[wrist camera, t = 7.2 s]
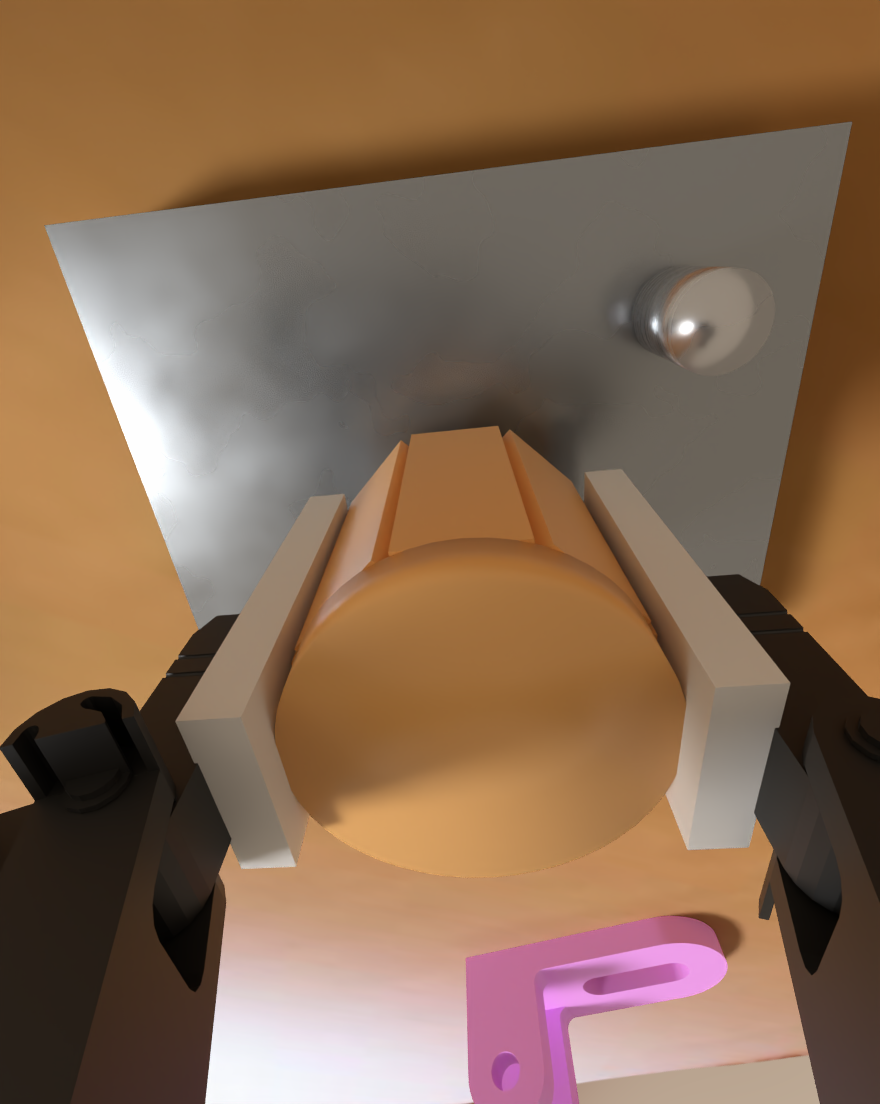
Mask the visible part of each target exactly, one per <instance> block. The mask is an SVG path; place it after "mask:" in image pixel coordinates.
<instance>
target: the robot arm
mask: <svg viewBox="0 0 880 1104" xmlns="http://www.w3.org/2000/svg"><path fill="white" fill-rule="evenodd" d="M584 504H585V506H586V507H587V509H588V511H589V513H590V514H591V516H592V518H593V520H594V521H595V523H596V525H597V527H598V528H599V530H600V532H601V534H602V535H603V537H604V539H605V541H606V542H607V544H608V546H609V548H610V549H611V551H612V553H613V555H614V556H615V558H616V560H617V562H618V563H619V565H620V567H621V569H622V570H623V572H624V574H625V576H626V577H627V579H628V581H629V583H630V584H631V586H632V588H633V590H634V591H635V593H636V595H637V597H638V598H639V600H640V602H641V604H642V605H643V607H644V609H645V611H646V612H647V614H648V616H649V617H650V619H651V624H652V626H653V628H654V629H655V631H656V633H657V635H658V636H657V642H658V644H659V645H660V647H661V649H662V651H663V653H664V654H665V656H666V658H667V660H668V662H669V663H670V665H671V667H672V669H673V671H674V672H675V674H676V676H677V678H678V680H679V682H680V685H681V688H682V691H683V694H684V697H685V700H686V711H685V718H684V725H683V732H682V739H681V747H680V754H679V761H678V768H677V774H676V777H675V779H674V780H673V782H672V784H671V785H670V787H669V788H668V790H667V792H666V793H665V794H666V796H667V799H668V801H669V804H670V806H671V809H672V811H673V814H674V817H675V819H676V822H677V824H678V827H679V829H680V832H681V834H682V837H683V839H684V842H685V845H686V847H687V850H698V849H722V848H746V847H749V844H750V841H751V837H752V833H753V829H754V825H755V821H756V817H757V819H758V821H759V823H760V825H761V827H762V829H763V830H764V832H765V834H766V836H767V838H768V840H769V842H770V843H771V845H772V847H773V849H774V850H773V853H772V857H771V860H770V864H769V867H768V871H767V874H766V877H765V881H764V884H763V888H762V891H761V895H760V898H759V918H761V919H766V920H769V918H770V915H771V911H772V908H773V905H774V904H775V908H776V912H777V917H778V921H779V926H780V930H781V934H782V939H783V943H784V948H785V952H786V956H787V961H788V965H789V969H790V974H791V978H792V983H793V987H794V991H795V996H796V1000H797V1005H798V1009H799V1013H800V1018H801V1022H802V1027H803V1031H804V1035H805V1040H806V1044H807V1049H808V1053H809V1057H810V1062H811V1066H812V1070H813V1075H814V1079H815V1084H816V1088H817V1093H818V1097H819V1101H820V1104H880V699H878V698H873V697H868V696H867V695H866V694H865V693H864V691H863V690H862V689H861V688H860V687H859V686H858V685H857V684H856V683H855V682H854V681H853V680H852V679H851V678H850V677H849V676H848V675H847V673H846V672H845V671H844V670H843V669H842V668H841V667H840V666H839V665H838V664H837V663H836V662H835V661H834V660H833V659H832V658H831V656H830V655H829V654H828V653H827V652H826V651H825V650H824V649H823V648H822V647H821V646H820V645H819V644H818V643H817V642H816V641H815V640H814V638H813V637H812V636H811V635H810V634H809V633H808V632H804V631H803V627H802V626H801V625H800V624H799V623H798V621H797V620H796V619H795V618H794V617H793V616H792V615H791V614H789V615H788V614H787V610H786V609H785V608H784V607H783V606H782V605H781V603H780V602H779V601H778V600H777V599H776V598H775V597H774V596H773V595H772V594H771V593H770V592H769V591H768V590H767V589H765V588H763V587H761V586H760V585H758V584H756V583H754V582H752V581H750V580H749V579H747V578H745V577H743V576H741V575H740V574H733V575H719V576H706V575H705V574H704V573H703V572H702V570H701V569H700V568H699V567H698V565H697V564H696V563H695V562H694V560H693V559H692V558H691V556H690V555H689V554H688V553H687V551H686V550H685V549H684V548H683V546H682V545H681V544H680V543H679V541H678V540H677V539H676V537H675V536H674V535H673V534H672V532H671V531H670V530H669V529H668V527H667V526H666V525H665V524H664V522H663V521H662V520H661V518H660V517H659V516H658V515H657V513H656V512H655V511H654V510H653V508H652V507H651V506H650V505H649V503H648V502H647V501H646V499H645V498H644V497H643V496H642V494H641V493H640V492H639V491H638V489H637V488H636V487H635V486H634V484H633V483H632V482H631V480H630V479H629V478H628V477H627V475H626V474H625V473H624V472H623V470H622V469H614V470H603V471H591V472H585V479H584ZM347 513H348V509H347V504H346V499H345V494H336V495H325V496H314V497H310V498H309V500H308V501H307V503H306V505H305V506H304V508H303V510H302V511H301V513H300V515H299V516H298V518H297V520H296V521H295V523H294V525H293V526H292V528H291V530H290V531H289V533H288V535H287V536H286V538H285V540H284V541H283V543H282V545H281V546H280V548H279V550H278V551H277V553H276V555H275V556H274V558H273V560H272V561H271V563H270V565H269V566H268V568H267V570H266V571H265V573H264V575H263V576H262V578H261V580H260V581H259V583H258V585H257V586H256V588H255V590H254V591H253V593H252V595H251V596H250V598H249V600H248V601H247V603H246V605H245V606H244V608H243V610H242V611H241V613H240V614H232V615H219V616H216V617H215V618H213V619H212V620H211V621H209V622H208V623H207V624H206V625H204V626H203V627H202V628H201V629H199V630H198V631H197V632H196V633H194V634H193V635H192V637H191V638H190V640H189V641H188V642H187V644H186V645H185V647H184V648H183V650H182V651H181V653H180V654H179V655H178V656H179V659H178V660H175V661H174V663H173V664H172V666H171V667H170V668H169V670H168V671H167V673H166V678H163V679H162V680H161V681H160V683H159V684H158V686H157V687H156V689H155V690H154V692H153V693H152V694H151V696H150V697H149V699H148V700H147V702H146V703H145V705H144V706H143V707H142V709H141V710H140V711H139V709H138V707H137V705H136V703H135V701H134V700H133V699H132V698H131V697H130V696H129V695H128V693H127V692H124V691H120V690H115V689H111V688H108V689H99V690H90V691H85V692H82V693H79V694H76V695H73V696H70V697H67V698H64V699H62V700H60V701H58V702H56V703H54V704H52V705H50V706H48V707H46V708H44V709H43V710H41V711H39V712H37V713H36V714H34V715H33V716H32V717H30V718H29V719H28V720H27V721H25V722H24V723H23V724H21V725H20V726H19V727H17V728H16V729H15V730H14V731H13V732H12V733H11V735H10V736H9V737H8V738H7V739H6V740H5V742H4V743H3V744H2V745H1V746H0V750H1V751H2V753H3V754H4V756H5V757H6V759H7V760H8V762H9V763H10V764H11V766H12V767H13V769H14V770H15V772H16V773H17V775H18V776H19V778H20V779H21V781H22V782H23V784H24V785H25V787H26V788H27V790H28V791H29V793H30V794H31V796H32V797H33V799H34V800H35V802H34V804H31V805H28V806H24V807H21V808H18V809H15V810H12V811H8V812H5V813H2V814H0V1104H205V1098H206V1089H207V1079H208V1070H209V1060H210V1051H211V1041H212V1032H213V1022H214V1013H215V1003H216V994H217V984H218V975H219V965H220V956H221V946H222V937H223V928H224V918H225V909H226V897H225V888H224V884H223V882H222V880H221V878H220V876H219V874H218V873H219V871H220V868H221V865H222V863H223V860H224V858H225V855H226V852H227V850H228V847H229V845H230V844H231V846H232V848H233V851H234V853H235V855H236V857H237V859H238V862H239V864H240V866H241V868H242V869H251V868H274V867H296V866H297V862H298V858H299V854H300V850H301V846H302V843H303V839H304V835H305V831H306V827H307V823H308V819H309V816H310V814H309V813H308V812H307V811H306V810H305V809H304V807H303V806H302V805H301V804H300V803H299V802H298V800H297V798H296V797H295V795H294V794H293V792H292V791H291V788H290V785H289V782H288V779H287V776H286V773H285V770H284V767H283V764H282V761H281V758H280V755H279V753H278V750H277V747H276V744H275V722H276V713H277V708H278V705H279V701H280V698H281V695H282V692H283V689H284V686H285V683H286V681H287V678H288V675H289V673H290V670H291V668H292V665H291V663H292V660H293V657H294V655H295V652H296V650H294V649H295V646H296V644H297V641H298V638H299V636H300V633H301V631H302V628H303V626H304V623H305V620H306V618H307V615H308V613H309V610H310V608H311V605H312V602H313V600H314V597H315V595H316V592H317V590H318V587H319V584H320V582H321V579H322V577H323V574H324V572H325V569H326V567H327V564H328V561H329V559H330V556H331V554H332V551H333V549H334V546H335V543H336V541H337V538H338V536H339V533H340V531H341V528H342V525H343V523H344V520H345V518H346V515H347Z"/></svg>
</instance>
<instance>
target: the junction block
mask: <svg viewBox="0 0 880 1104" xmlns="http://www.w3.org/2000/svg"><path fill="white" fill-rule="evenodd" d="M851 125H852V122H845V123H837V124H830V125H822V126H814V127H806V128H798V129H791V130H783V131H775V132H767V133H760V134H752V135H744V136H736V137H729V138H721V139H713V140H705V141H697V142H690V143H682V144H674V145H666V146H659V147H651V148H643V149H635V150H627V151H620V152H612V153H604V154H596V155H589V156H581V157H573V158H565V159H557V160H550V161H542V162H534V163H526V164H519V165H511V166H503V167H495V168H488V169H480V170H472V171H464V172H456V173H449V174H441V175H433V176H425V177H418V178H410V179H402V180H394V181H386V182H379V183H371V184H363V185H355V186H348V187H340V188H332V189H324V190H316V191H309V192H301V193H293V194H285V195H278V196H270V197H262V198H254V199H247V200H239V201H231V202H223V203H215V204H208V205H200V206H192V207H184V208H177V209H169V210H161V211H153V212H145V213H138V214H130V215H122V216H114V217H107V218H99V219H91V220H83V221H76V222H68V223H60V224H52V225H44V226H45V228H46V231H47V234H48V236H49V239H50V241H51V244H52V247H53V249H54V252H55V255H56V257H57V260H58V262H59V265H60V268H61V270H62V273H63V276H64V278H65V281H66V283H67V286H68V289H69V291H70V294H71V296H72V299H73V302H74V304H75V307H76V310H77V312H78V315H79V317H80V320H81V323H82V325H83V328H84V330H85V333H86V336H87V338H88V341H89V344H90V346H91V349H92V351H93V354H94V357H95V359H96V362H97V364H98V367H99V370H100V372H101V375H102V378H103V380H104V383H105V385H106V388H107V391H108V393H109V396H110V398H111V401H112V404H113V406H114V409H115V412H116V414H117V417H118V419H119V422H120V425H121V427H122V430H123V433H124V435H125V438H126V440H127V443H128V446H129V448H130V451H131V453H132V456H133V459H134V461H135V464H136V467H137V469H138V472H139V474H140V477H141V480H142V482H143V485H144V487H145V490H146V493H147V495H148V498H149V501H150V503H151V506H152V508H153V511H154V514H155V516H156V519H157V521H158V524H159V527H160V529H161V532H162V535H163V537H164V540H165V542H166V545H167V548H168V550H169V553H170V555H171V558H172V561H173V563H174V566H175V569H176V571H177V574H178V576H179V579H180V582H181V584H182V587H183V589H184V592H185V595H186V597H187V600H188V603H189V605H190V608H191V610H192V613H193V616H194V618H195V621H196V624H197V626H198V629H201V628H202V627H203V626H204V625H206V624H207V623H208V622H209V621H211V620H212V619H213V618H215V617H216V616H219V615H232V614H240V613H241V611H242V610H243V608H244V606H245V605H246V603H247V601H248V600H249V598H250V596H251V595H252V593H253V591H254V590H255V588H256V586H257V585H258V583H259V581H260V580H261V578H262V576H263V575H264V573H265V571H266V570H267V568H268V566H269V565H270V563H271V561H272V560H273V558H274V556H275V555H276V553H277V551H278V550H279V548H280V546H281V545H282V543H283V541H284V540H285V538H286V536H287V535H288V533H289V531H290V530H291V528H292V526H293V525H294V523H295V521H296V520H297V518H298V516H299V515H300V513H301V511H302V510H303V508H304V506H305V505H306V503H307V501H308V500H309V498H310V497H314V496H325V495H336V494H345V499H346V504H347V509H348V510H349V507H350V505H351V502H352V501H353V500H354V498H355V497H356V496H357V495H358V493H359V492H360V491H361V490H362V488H363V487H364V486H365V485H366V483H367V482H368V481H369V480H370V478H371V477H372V476H373V475H374V473H375V472H376V471H377V470H378V468H379V467H380V466H381V464H382V463H383V462H384V461H385V459H386V458H387V457H388V456H389V454H390V453H391V452H392V451H393V449H394V448H395V447H396V446H397V444H398V443H399V442H400V441H403V442H404V443H405V444H407V445H408V446H409V444H410V439H411V435H412V434H421V433H431V432H441V431H451V430H461V429H471V428H481V427H491V426H498V427H499V430H500V433H501V436H502V437H503V436H504V435H505V434H506V433H507V432H508V431H509V429H510V430H511V431H512V432H514V433H515V434H516V435H517V436H518V437H520V438H521V439H522V440H523V441H524V442H525V443H527V444H528V445H529V446H530V447H531V448H533V449H534V450H535V451H536V452H537V453H539V454H540V455H541V456H542V457H543V458H544V459H546V460H547V461H548V462H549V463H550V464H552V465H553V466H554V467H555V468H556V469H557V470H559V471H560V472H561V473H562V474H563V475H565V476H566V477H567V478H568V479H569V480H571V481H572V483H573V485H574V487H575V488H576V490H577V492H578V493H579V495H580V497H581V499H582V500H583V502H584V479H585V472H591V471H603V470H614V469H622V470H623V472H624V473H625V474H626V475H627V477H628V478H629V479H630V480H631V482H632V483H633V484H634V486H635V487H636V488H637V489H638V491H639V492H640V493H641V494H642V496H643V497H644V498H645V499H646V501H647V502H648V503H649V505H650V506H651V507H652V508H653V510H654V511H655V512H656V513H657V515H658V516H659V517H660V518H661V520H662V521H663V522H664V524H665V525H666V526H667V527H668V529H669V530H670V531H671V532H672V534H673V535H674V536H675V537H676V539H677V540H678V541H679V543H680V544H681V545H682V546H683V548H684V549H685V550H686V551H687V553H688V554H689V555H690V556H691V558H692V559H693V560H694V562H695V563H696V564H697V565H698V567H699V568H700V569H701V570H702V572H703V573H704V574H705V575H706V576H719V575H733V574H740V575H741V576H743V577H745V578H747V579H749V580H750V581H752V582H754V583H756V584H758V585H760V583H761V578H762V573H763V568H764V563H765V558H766V553H767V548H768V543H769V538H770V533H771V528H772V523H773V517H774V512H775V507H776V502H777V497H778V492H779V487H780V482H781V477H782V472H783V467H784V462H785V457H786V452H787V447H788V442H789V437H790V432H791V427H792V422H793V417H794V412H795V407H796V402H797V397H798V392H799V387H800V382H801V377H802V372H803V367H804V362H805V357H806V352H807V347H808V342H809V337H810V332H811V326H812V321H813V316H814V311H815V306H816V301H817V296H818V291H819V286H820V281H821V276H822V271H823V266H824V261H825V256H826V251H827V246H828V241H829V236H830V231H831V226H832V221H833V216H834V211H835V206H836V201H837V196H838V191H839V186H840V181H841V176H842V171H843V166H844V161H845V156H846V151H847V146H848V141H849V135H850V130H851Z"/></svg>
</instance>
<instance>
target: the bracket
mask: <svg viewBox="0 0 880 1104" xmlns="http://www.w3.org/2000/svg"><path fill="white" fill-rule="evenodd" d="M726 972H727V962H726V959H725V957H724V954H723V952H722V949H721V947H720V944H719V941H718V939H717V936H716V934H715V932H714V930H713V929H712V928H711V927H710V926H708V925H707V924H705V923H703V922H701V921H699V920H696V919H693V918H688V917H682V916H661V917H654V918H649V919H644V920H639V921H635V922H630V923H626V924H621V925H616V926H612V927H607V928H602V929H598V930H593V931H588V932H584V933H579V934H575V935H570V936H565V937H561V938H556V939H551V940H547V941H542V942H538V943H533V944H528V945H524V946H519V947H514V948H510V949H505V950H501V951H496V952H491V953H487V954H482V955H477V956H473V957H468V958H466V987H467V1030H468V1074H469V1087H470V1092H471V1096H472V1099H473V1101H474V1104H579V1099H578V1092H577V1087H576V1079H575V1073H574V1066H573V1060H572V1053H571V1047H570V1040H569V1034H568V1025H569V1022H570V1021H571V1020H572V1019H573V1018H575V1017H580V1016H586V1015H591V1014H596V1013H602V1012H607V1011H613V1010H618V1009H624V1008H629V1007H634V1006H640V1005H645V1004H651V1003H656V1002H662V1001H667V1000H672V999H678V998H683V997H688V996H692V995H695V994H698V993H701V992H703V991H706V990H708V989H710V988H711V987H713V986H715V985H716V984H717V983H718V982H720V981H721V980H722V979H723V977H724V976H725V974H726Z"/></svg>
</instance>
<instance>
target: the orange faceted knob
mask: <svg viewBox="0 0 880 1104" xmlns="http://www.w3.org/2000/svg"><path fill="white" fill-rule="evenodd" d="M657 636H658V635H657V633H656V631H655V629H654V628H653V626H652V624H651V619H650V617H649V616H648V614H647V612H646V611H645V609H644V607H643V605H642V604H641V602H640V600H639V598H638V597H637V595H636V593H635V591H634V590H633V588H632V586H631V584H630V583H629V581H628V579H627V577H626V576H625V574H624V572H623V570H622V569H621V567H620V565H619V563H618V562H617V560H616V558H615V556H614V555H613V553H612V551H611V549H610V548H609V546H608V544H607V542H606V541H605V539H604V537H603V535H602V534H601V532H600V530H599V528H598V527H597V525H596V523H595V521H594V520H593V518H592V516H591V514H590V513H589V511H588V509H587V507H586V506H585V504H584V502H583V500H582V499H581V497H580V495H579V493H578V492H577V490H576V488H575V487H574V485H573V483H572V481H571V480H569V479H568V478H567V477H566V476H565V475H563V474H562V473H561V472H560V471H559V470H557V469H556V468H555V467H554V466H553V465H552V464H550V463H549V462H548V461H547V460H546V459H544V458H543V457H542V456H541V455H540V454H539V453H537V452H536V451H535V450H534V449H533V448H531V447H530V446H529V445H528V444H527V443H525V442H524V441H523V440H522V439H521V438H520V437H518V436H517V435H516V434H515V433H514V432H512V431H511V430H510V429H509V431H508V432H507V433H506V434H505V435H504V436H503V437H502V436H501V433H500V430H499V427H498V426H491V427H481V428H471V429H461V430H451V431H441V432H431V433H421V434H412V435H411V439H410V444H409V446H408V445H407V444H405V443H404V442H403V441H400V442H399V443H398V444H397V446H396V447H395V448H394V449H393V451H392V452H391V453H390V454H389V456H388V457H387V458H386V459H385V461H384V462H383V463H382V464H381V466H380V467H379V468H378V470H377V471H376V472H375V473H374V475H373V476H372V477H371V478H370V480H369V481H368V482H367V483H366V485H365V486H364V487H363V488H362V490H361V491H360V492H359V493H358V495H357V496H356V497H355V498H354V500H353V501H352V502H351V505H350V507H349V510H348V513H347V515H346V518H345V520H344V523H343V525H342V528H341V531H340V533H339V536H338V538H337V541H336V543H335V546H334V549H333V551H332V554H331V556H330V559H329V561H328V564H327V567H326V569H325V572H324V574H323V577H322V579H321V582H320V584H319V587H318V590H317V592H316V595H315V597H314V600H313V602H312V605H311V608H310V610H309V613H308V615H307V618H306V620H305V623H304V626H303V628H302V631H301V633H300V636H299V638H298V641H297V644H296V646H295V649H294V650H296V652H295V655H294V657H293V660H292V663H291V665H292V668H291V670H290V673H289V675H288V678H287V681H286V683H285V686H284V689H283V692H282V695H281V698H280V701H279V705H278V708H277V713H276V722H275V744H276V747H277V750H278V753H279V755H280V758H281V761H282V764H283V767H284V770H285V773H286V776H287V779H288V782H289V785H290V788H291V791H292V792H293V794H294V795H295V797H296V798H297V800H298V802H299V803H300V804H301V805H302V806H303V807H304V809H305V810H306V811H307V812H308V813H309V814H310V816H311V817H312V818H313V819H314V820H316V821H317V822H318V823H319V824H320V825H321V826H322V827H323V828H325V829H326V830H327V831H328V832H330V833H331V834H332V835H334V836H335V837H337V838H338V839H340V840H341V841H342V842H344V843H346V844H347V845H349V846H351V847H353V848H355V849H356V850H358V851H360V852H362V853H364V854H366V855H369V856H371V857H373V858H376V859H378V860H380V861H383V862H386V863H389V864H392V865H395V866H398V867H401V868H405V869H409V870H413V871H418V872H422V873H427V874H434V875H441V876H450V877H465V878H487V877H502V876H512V875H519V874H525V873H530V872H536V871H540V870H544V869H548V868H552V867H555V866H559V865H562V864H565V863H567V862H570V861H573V860H576V859H579V858H581V857H583V856H585V855H588V854H590V853H592V852H594V851H596V850H598V849H600V848H602V847H604V846H606V845H607V844H609V843H611V842H612V841H614V840H616V839H618V838H619V837H620V836H622V835H623V834H625V833H626V832H627V831H629V830H630V829H631V828H633V827H634V826H635V825H637V824H638V823H639V822H640V821H641V820H642V819H643V818H644V817H645V816H646V815H647V814H648V813H649V812H651V811H652V809H653V808H654V807H655V806H656V805H657V803H658V802H659V801H660V800H661V799H662V797H663V796H664V795H665V793H666V792H667V790H668V788H669V787H670V785H671V784H672V782H673V780H674V779H675V777H676V774H677V768H678V761H679V754H680V747H681V739H682V732H683V725H684V718H685V711H686V700H685V697H684V694H683V691H682V688H681V685H680V682H679V680H678V678H677V676H676V674H675V672H674V671H673V669H672V667H671V665H670V663H669V662H668V660H667V658H666V656H665V654H664V653H663V651H662V649H661V647H660V645H659V644H658V642H657Z"/></svg>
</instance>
